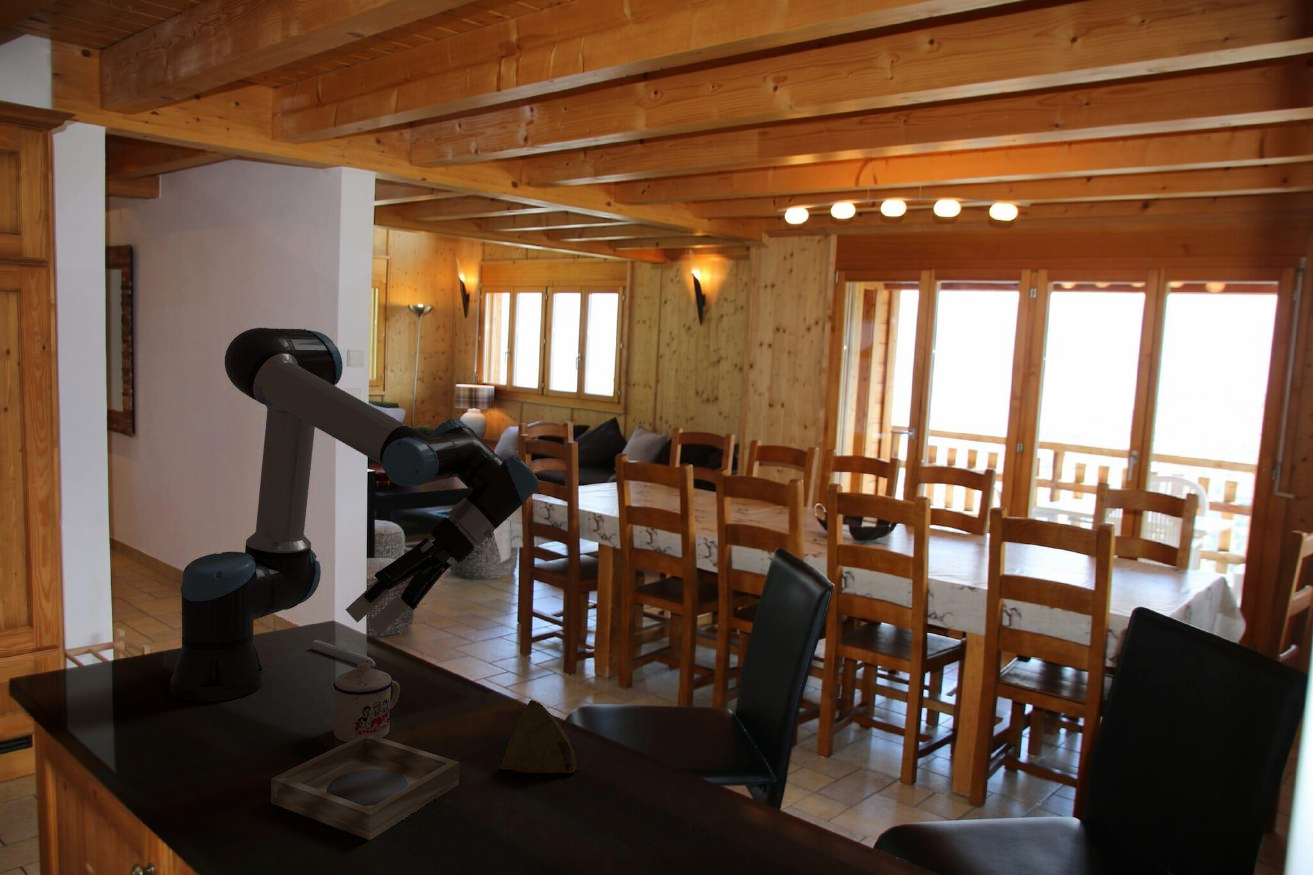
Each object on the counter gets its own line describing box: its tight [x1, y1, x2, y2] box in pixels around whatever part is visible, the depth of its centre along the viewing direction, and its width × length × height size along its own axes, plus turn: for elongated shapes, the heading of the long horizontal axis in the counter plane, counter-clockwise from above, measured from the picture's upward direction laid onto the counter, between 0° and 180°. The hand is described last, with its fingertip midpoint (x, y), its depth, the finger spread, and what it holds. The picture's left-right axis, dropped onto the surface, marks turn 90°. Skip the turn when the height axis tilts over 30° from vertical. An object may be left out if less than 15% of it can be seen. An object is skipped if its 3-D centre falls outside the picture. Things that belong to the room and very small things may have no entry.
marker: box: [310, 639, 376, 668], centre depth 186 cm, size 18×2×2 cm, turn 57°
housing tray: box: [270, 733, 460, 841], centre depth 133 cm, size 18×18×4 cm
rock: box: [500, 699, 578, 774], centre depth 143 cm, size 11×9×10 cm
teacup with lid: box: [332, 662, 401, 743], centre depth 153 cm, size 12×9×12 cm
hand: (363, 622), depth 152 cm, fingers open, 13 cm apart
